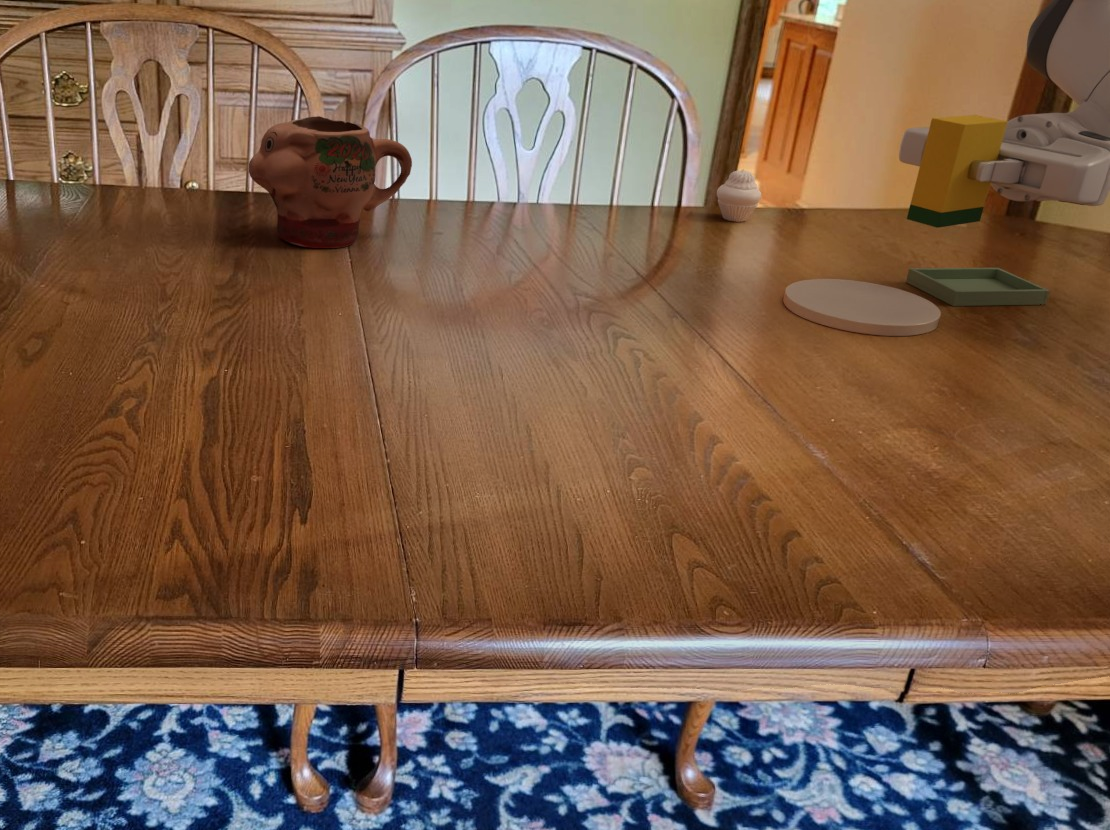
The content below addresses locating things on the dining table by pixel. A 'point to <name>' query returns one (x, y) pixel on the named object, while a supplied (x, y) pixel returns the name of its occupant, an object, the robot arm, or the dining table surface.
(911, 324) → the plate
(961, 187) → the sponge
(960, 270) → the dish
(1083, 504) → the dining table surface
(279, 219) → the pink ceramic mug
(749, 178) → the muffin
